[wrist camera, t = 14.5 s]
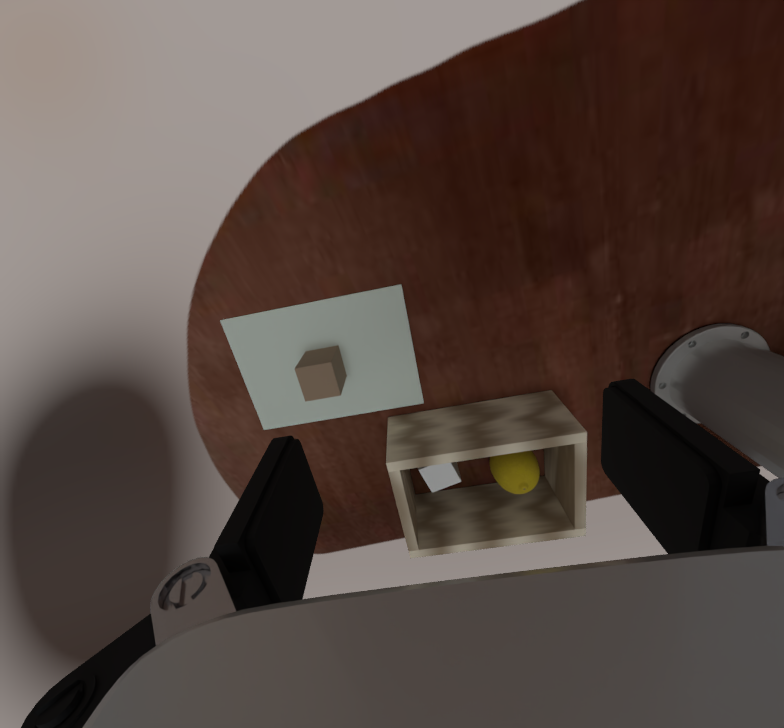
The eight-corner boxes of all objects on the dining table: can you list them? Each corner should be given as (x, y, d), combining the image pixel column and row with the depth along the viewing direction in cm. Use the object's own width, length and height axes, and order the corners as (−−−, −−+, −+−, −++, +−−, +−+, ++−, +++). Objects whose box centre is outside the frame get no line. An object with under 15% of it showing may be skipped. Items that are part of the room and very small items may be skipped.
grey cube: (444, 438, 47) (448, 458, 44) (456, 460, 49) (461, 481, 45) (416, 450, 48) (418, 470, 44) (429, 471, 49) (432, 492, 46)
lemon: (475, 451, 48) (489, 495, 40) (500, 421, 46) (520, 461, 39) (508, 468, 49) (528, 514, 42) (534, 439, 47) (560, 482, 40)
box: (551, 390, 44) (587, 432, 36) (554, 481, 50) (585, 535, 41) (388, 417, 46) (386, 463, 38) (408, 502, 51) (410, 558, 43)
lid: (401, 283, 40) (401, 294, 34) (423, 400, 46) (426, 425, 40) (223, 318, 42) (197, 334, 36) (266, 426, 48) (249, 454, 42)
